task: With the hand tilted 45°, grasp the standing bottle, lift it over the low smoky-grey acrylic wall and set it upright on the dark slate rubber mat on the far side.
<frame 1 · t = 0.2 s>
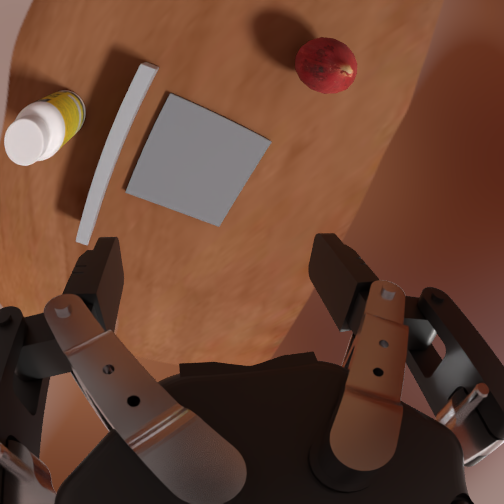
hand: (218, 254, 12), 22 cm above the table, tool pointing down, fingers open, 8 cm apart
slate mat: (196, 163, 32), on the table
supplement bottle: (64, 113, 25), on the table
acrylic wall: (113, 150, 29), on the table
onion: (310, 62, 28), on the table
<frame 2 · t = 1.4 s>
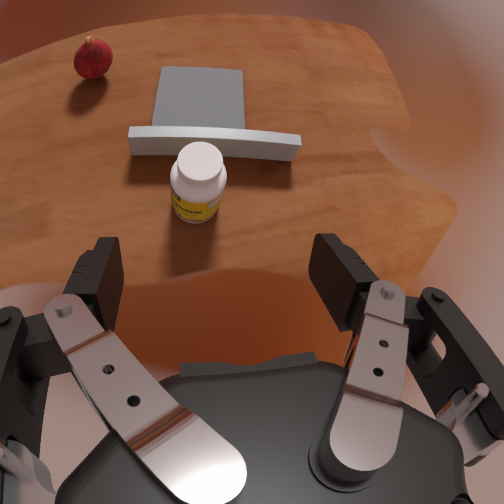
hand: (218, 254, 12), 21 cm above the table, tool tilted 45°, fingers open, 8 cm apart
slate mat: (199, 97, 38), on the table
supplement bottle: (195, 203, 35), on the table
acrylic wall: (213, 151, 37), on the table
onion: (97, 77, 36), on the table
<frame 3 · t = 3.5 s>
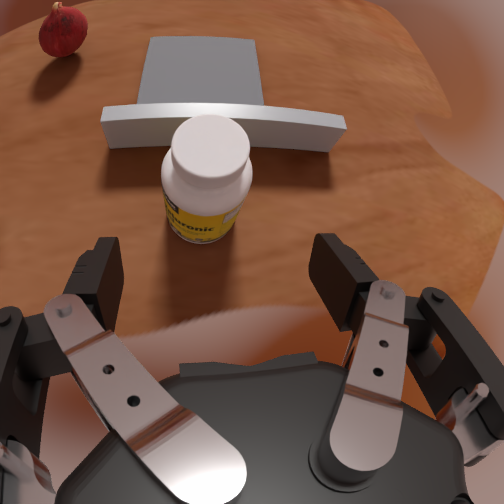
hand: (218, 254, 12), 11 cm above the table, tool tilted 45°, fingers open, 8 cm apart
slate mat: (201, 71, 28), on the table
supplement bottle: (201, 213, 24), on the table
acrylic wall: (222, 138, 26), on the table
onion: (69, 55, 26), on the table
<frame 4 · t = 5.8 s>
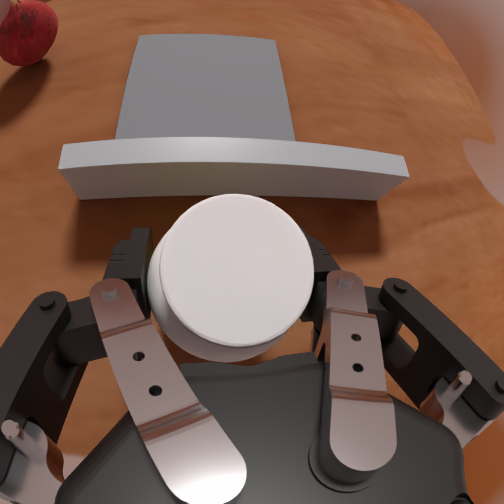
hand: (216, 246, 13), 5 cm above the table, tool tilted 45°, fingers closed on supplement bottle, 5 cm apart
slate mat: (206, 81, 21), on the table
supplement bottle: (210, 300, 17), on the table, touching gripper
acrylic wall: (238, 184, 19), on the table
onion: (38, 62, 19), on the table
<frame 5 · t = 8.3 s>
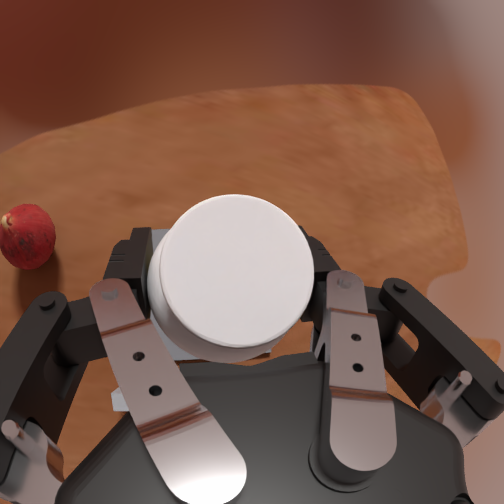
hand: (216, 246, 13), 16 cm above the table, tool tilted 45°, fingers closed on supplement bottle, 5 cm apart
slate mat: (199, 292, 28), on the table
supplement bottle: (210, 301, 17), point 11 cm above the table, touching gripper
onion: (44, 247, 26), on the table
when the fingers open (6 cm above the table, at t = 10.7 s): supplement bottle drops 1 cm, resting on slate mat.
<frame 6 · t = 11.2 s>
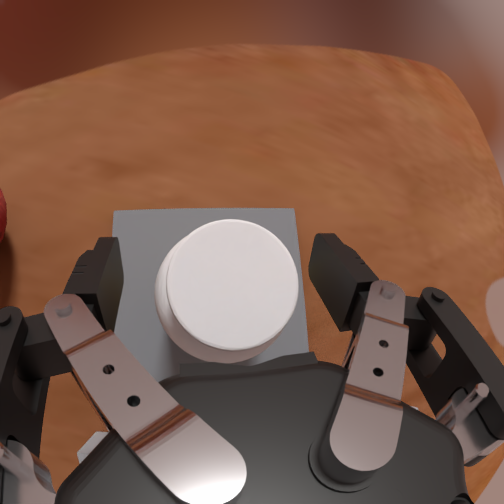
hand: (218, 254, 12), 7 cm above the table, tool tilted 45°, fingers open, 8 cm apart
slate mat: (208, 303, 19), on the table
supplement bottle: (212, 306, 18), resting on slate mat
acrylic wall: (251, 438, 17), on the table
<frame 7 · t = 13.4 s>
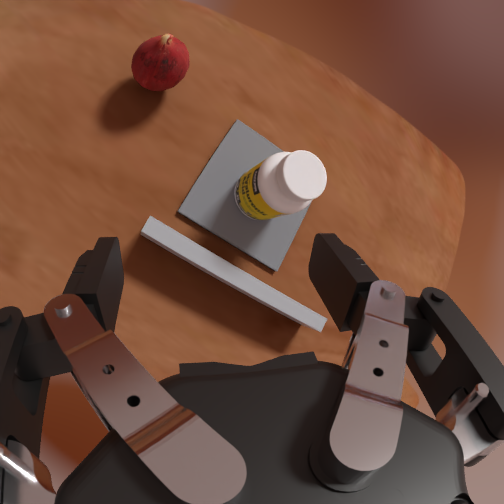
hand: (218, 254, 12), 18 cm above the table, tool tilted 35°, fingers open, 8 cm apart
slate mat: (255, 193, 33), on the table
supplement bottle: (256, 196, 32), resting on slate mat
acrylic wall: (230, 278, 31), on the table
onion: (156, 82, 29), on the table
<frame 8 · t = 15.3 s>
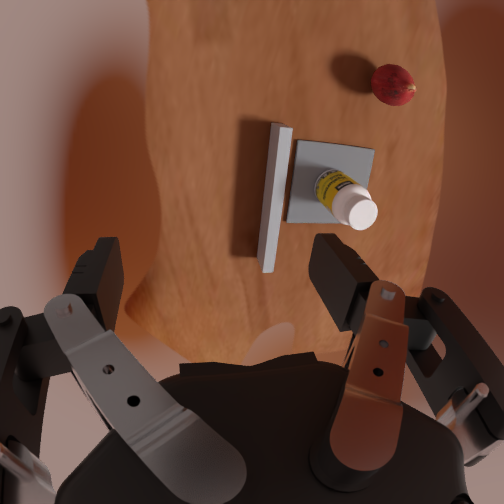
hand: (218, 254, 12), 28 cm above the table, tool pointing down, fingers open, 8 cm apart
slate mat: (330, 184, 43), on the table
supplement bottle: (330, 185, 43), resting on slate mat
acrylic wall: (269, 195, 42), on the table
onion: (377, 83, 36), on the table
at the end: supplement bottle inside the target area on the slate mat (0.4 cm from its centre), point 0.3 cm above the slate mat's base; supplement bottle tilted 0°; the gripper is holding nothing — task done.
